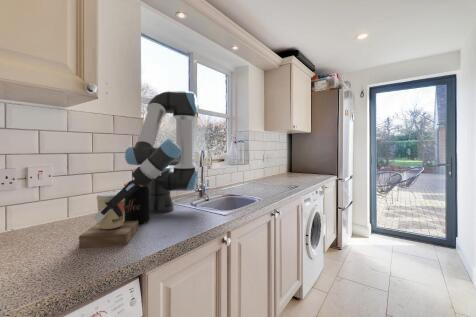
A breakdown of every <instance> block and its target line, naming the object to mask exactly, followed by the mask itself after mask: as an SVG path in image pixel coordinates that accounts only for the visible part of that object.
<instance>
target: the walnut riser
mask: <svg viewBox="0 0 476 317" xmlns="http://www.w3.org/2000/svg"><path fill="white" fill-rule="evenodd" d="M138 231H139V225H138V221H124V220H123V225H122V226H120V227H117V228H112V229H102V228H100V224H99V222H97V223H96V224H94V225H92V227H90V228H89V229H87V230H86V231H84V232H83V233H82V234H79V236H78V248H79V249H81V248H82V249H83V248H84V249H85V248H100V247H101V248H105V247H120V246H123V247H124V246H128V244H129V243H130V241H131V240H132V239H133V237H134V236H135V235H137V232H138Z"/></svg>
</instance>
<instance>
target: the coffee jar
mask: <svg viewBox="0 0 476 317" xmlns="http://www.w3.org/2000/svg"><path fill="white" fill-rule="evenodd" d="M127 183H128V182H125V183H124V184H123V185H124V186H123V187H125V186H126V185H127ZM148 186H149V185H148ZM148 186H143V185H140V188H139V189H137V190H136V191H135V192H134V193H132V194H131V195H130V196H129V197H128V199H126V202H125V205H124V220H123V221H138V226H140V225H144V224H146V223H148V222H149V220H150V218H151V216H150V214H151V213H150V188H149V187H148Z"/></svg>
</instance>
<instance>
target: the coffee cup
mask: <svg viewBox="0 0 476 317" xmlns="http://www.w3.org/2000/svg"><path fill="white" fill-rule="evenodd" d="M119 192H120V191H106V192H100V193H98V194H97V196H96V199H97V200H96V201H97V202H96V203H97V211H98V212H99V211H100V210H101V209H102V208H103V207H104V206H105V205H106V204H105V202H109V201H110V200H111V199H112V198H113V197H114V196H115V195H116V194H118V193H119ZM124 205H125V198H124V199H123V200H122V201H121V202H119V203H118V204H117V205H116V206H115V207H114V208H113V210H112V211H111V212H110V213H108V214H107V215H106V216H105V217H104V218H103V219H102V220H101V221H100V222H98V223H99V224H100V228H102V229H112V228H117V227H120V226H122V225H123V221H124ZM98 212H97V213H98Z"/></svg>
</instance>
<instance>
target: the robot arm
mask: <svg viewBox="0 0 476 317" xmlns="http://www.w3.org/2000/svg"><path fill="white" fill-rule="evenodd" d="M146 111H147V113H146V116H145V118H144V121H143V123H142V126H141V129H140V132H139V134H138V137H137V139H136V143H135V144H134V146H131V147H130V146H129V147H128V148H126V149H125V154H124V159H125V161H126V163H127V164H128V165H131V166H138V167H137V168H135V169H134V170H133V171H132V172H131V176H132V177H133V179H132V180H129V181H128V182H126V183H127V185H126V186H123V187H122V188H121V190H119V191H118V192H119V193H118V194H116V195H115V196H114V197H113V198H112V199H111V200H110V201H109V202H105V204H106V205H105V206H104V207H103V208H102V209H101V210H100V211H99V212H96V213H95V215H94V216H93V217H92V218H93V219H94V220H96V222H97V223H99V222H100V221H101V220H102V219H103V218H104V217H105V216H106V215H107V214H108V213H110V212H111V211H112V210H113V208H114V207H115V206H116V205H117V204H118V203H119V202H121V201H122V200H123V199H124V198H125V202H126V199H128V197H129V196H130V195H131V194H132V193H134V192H135V191H136V190H137V189H139V188H140V185H143V186H148V185H149V186H148V187H149V188H150V214H160V213H161V214H162V213H166V212H171V211H173V210H174V202H173V199H172V197H171V196H172V195H171V192H172V191H173V192H190V191H191V192H192V191H194V190H196V187H197V183H198V176H199V171H198V169H196V165H194V164H193V120H194V119H195V118H196V115H198V114H199V107H198V101H197V95H196V94H195V93H194V92H193V91H182V90H181V91H180V90H179V91H175V90H174V91H172V90H165V91H162V92H158V93H157V94H156V95H155V96H153V97H152V98H151V99H150V100H149V102H148V104H147V106H146ZM167 114H172V115H173V116H172V117H173V118H174V119H175V120H176V121H175V135H176V137H175V139H176V140H175V141H174V140H173V139H171V138H168V139H166V140H165V141H164V142H162V143H161V144H160V145H159V146H158V147H155V144H156V140H157V137H158V134H159V132H160V131H159V130H160V128H161V125H162V121H163V119H164V117H166V115H167ZM170 166H173V169H171V167H170Z"/></svg>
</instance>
